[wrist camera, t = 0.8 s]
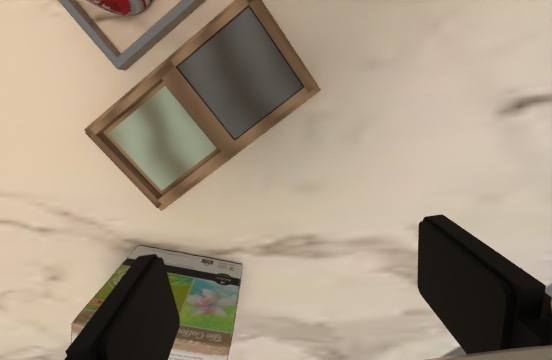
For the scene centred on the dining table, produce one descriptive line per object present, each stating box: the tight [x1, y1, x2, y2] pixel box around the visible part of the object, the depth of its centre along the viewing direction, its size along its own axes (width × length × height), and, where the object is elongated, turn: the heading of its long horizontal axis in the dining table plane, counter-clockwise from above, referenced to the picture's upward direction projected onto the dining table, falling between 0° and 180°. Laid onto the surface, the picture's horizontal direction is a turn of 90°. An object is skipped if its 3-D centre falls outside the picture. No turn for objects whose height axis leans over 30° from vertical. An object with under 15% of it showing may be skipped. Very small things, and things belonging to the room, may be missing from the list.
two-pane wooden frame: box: [85, 0, 320, 211], centre depth 34 cm, size 25×13×3 cm, turn 127°
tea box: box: [71, 246, 242, 360], centre depth 35 cm, size 15×10×15 cm
